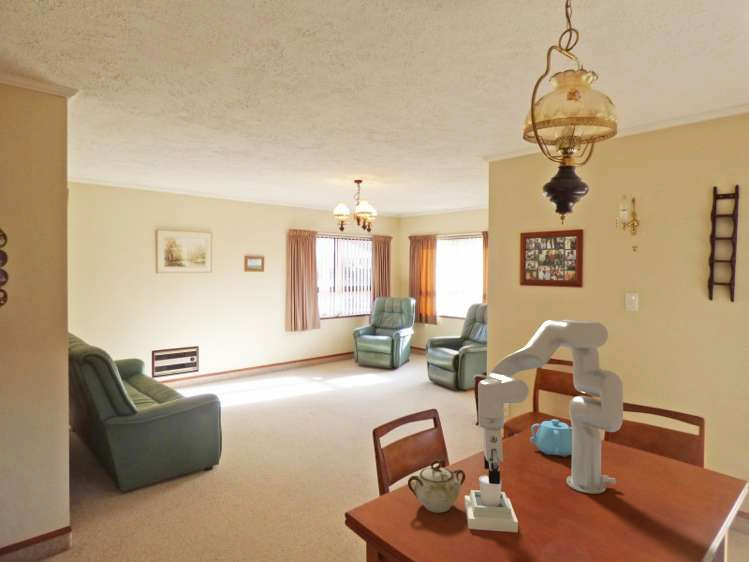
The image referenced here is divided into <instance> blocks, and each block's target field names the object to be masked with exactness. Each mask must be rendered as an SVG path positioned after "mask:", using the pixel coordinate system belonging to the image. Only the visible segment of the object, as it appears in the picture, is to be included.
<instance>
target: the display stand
mask: <svg viewBox="0 0 749 562" xmlns="http://www.w3.org/2000/svg"><path fill="white" fill-rule="evenodd" d="M464 508H465V514H466V521H467V526H468V529H469V530H479V531H480V530H481V531H495V532H496V531H497V532H506V533H507V532H508V533H509V532H510V533H518V532H519V521H518V518H517V516H516V513H515V510H514V508H513V506H512V503H511V499H510V498H509V497H507V495H506V492H505V491H501V495H500V504H499V505H498V506H496V507H493V506H486V505H484V504H482V502H481V496H480V490H479V489H477V490H474V489H470V493H469V495H464Z"/></svg>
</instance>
